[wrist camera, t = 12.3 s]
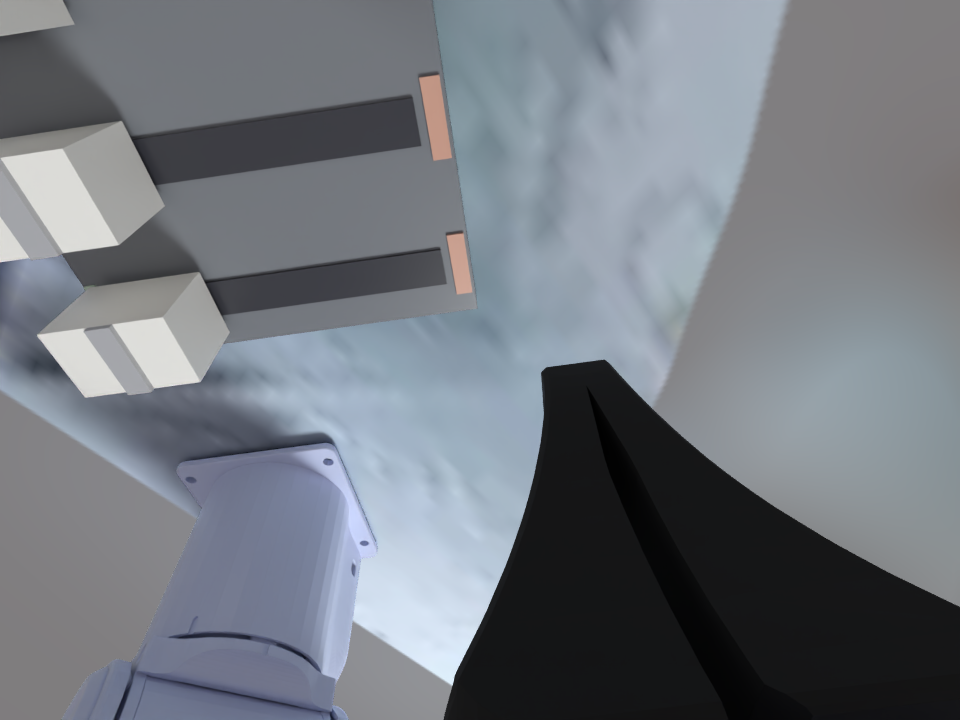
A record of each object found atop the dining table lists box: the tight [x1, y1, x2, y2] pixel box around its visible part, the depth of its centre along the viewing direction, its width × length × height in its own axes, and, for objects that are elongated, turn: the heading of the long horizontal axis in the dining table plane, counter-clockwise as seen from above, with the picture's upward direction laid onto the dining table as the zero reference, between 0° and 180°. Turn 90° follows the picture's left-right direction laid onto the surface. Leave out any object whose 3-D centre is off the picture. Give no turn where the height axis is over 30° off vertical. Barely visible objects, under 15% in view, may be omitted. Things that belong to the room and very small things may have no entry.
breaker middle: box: [0, 121, 165, 262], centre depth 15 cm, size 3×4×3 cm, turn 97°
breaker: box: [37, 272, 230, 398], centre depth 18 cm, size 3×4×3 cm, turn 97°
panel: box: [0, 0, 477, 344], centre depth 17 cm, size 14×14×1 cm
